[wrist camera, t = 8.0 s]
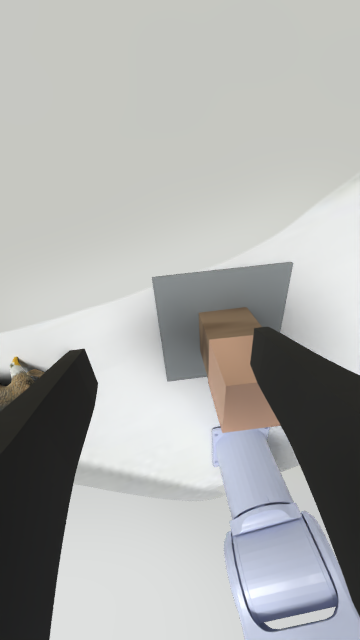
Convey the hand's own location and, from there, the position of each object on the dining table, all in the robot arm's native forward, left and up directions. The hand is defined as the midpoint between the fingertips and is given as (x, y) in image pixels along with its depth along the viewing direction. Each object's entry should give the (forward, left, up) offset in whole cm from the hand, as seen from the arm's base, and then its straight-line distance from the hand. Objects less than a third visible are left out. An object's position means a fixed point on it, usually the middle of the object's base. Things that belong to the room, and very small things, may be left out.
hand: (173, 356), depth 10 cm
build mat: (-6, -5, -10) cm, 13 cm away
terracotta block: (-6, -5, -6) cm, 10 cm away
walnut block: (-6, -5, -10) cm, 13 cm away
